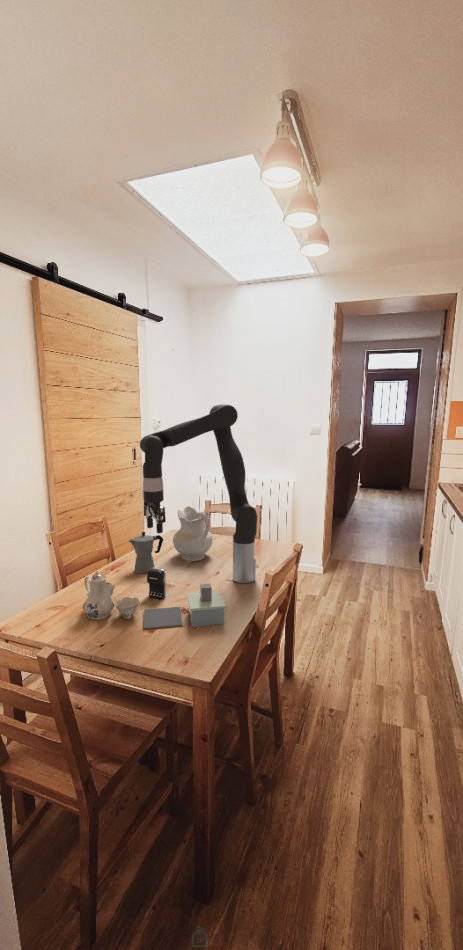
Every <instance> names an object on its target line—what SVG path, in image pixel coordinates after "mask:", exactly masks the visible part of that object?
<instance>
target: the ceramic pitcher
mask: <svg viewBox="0 0 463 950" xmlns="http://www.w3.org/2000/svg"><path fill="white" fill-rule="evenodd" d="M177 517H178V520H179V521H180V528H179V530H176V532H175V533H174V534H173V536H172V543H173V547H174V549H175V550H176V551H177V552H178V553H179V554H180V555H181V559H182V560H184V561H187V562H189V561H191V562H198V561H201V560H204V559H205V558H206V555H205V554H206V553H208V552H209V550H210V549H211V547H212V544H213V535H212V533H211V532H210V527H211V525H210V524H211V521H210V516H209V513H208V512H207V511H197V510H196V508H195V507H192V506H186V507H184V509H182V510H181V509H177Z"/></svg>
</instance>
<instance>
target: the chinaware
mask: <svg viewBox="0 0 463 950" xmlns="http://www.w3.org/2000/svg"><path fill="white" fill-rule="evenodd" d="M107 578H108V576H107V575H104V574H101V573H100V572H99V571H98V570H96V571H95V572H94V574H92V575H91V576H90V575H88V576H85V578H84V587H85V589H86V591H87V594H86V596H87V597H86V600H85V601H84V602H83V605H82V610H83V612H84V614H85V615H86V617H87V619H89V620H94V621H95V620H98V621H99V620H102V619H105V618H108V617H109V616H110V615H111V614H112V611H113V609H114V608H115V607H116V609H117V612H118V613H119V614H120V615H121V616H122V618H124V619H128V620H130V619H132V617H133V616H134V615H135V614H136V612H137V611H138V607H139V605H141V603H140V599H139V598H138V597H133V598H132V597H130V596H126V597H123V598H122V599H120V600H119V599H118V600H115V602H114V601H113V599H112V595H113V593H114V590H115V588H116V587H117V586H116V585H115V584H112V583H111V582H106V581H107ZM88 584H89V586H88Z"/></svg>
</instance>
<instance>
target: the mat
mask: <svg viewBox="0 0 463 950" xmlns="http://www.w3.org/2000/svg"><path fill="white" fill-rule="evenodd" d="M178 627H184V625H183V617H182V610H181V606H174V607H173V606H170V607H160V608H159V607H158V608H147V609H143V626H142V629H143V630H145V631H146V630H156V629H164V628H165V629H167V628H178Z"/></svg>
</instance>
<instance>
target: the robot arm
mask: <svg viewBox="0 0 463 950" xmlns="http://www.w3.org/2000/svg"><path fill="white" fill-rule="evenodd" d="M238 417H239V416H238V411H237V409H236V407H234V406H233V405H231V404H227V403H222V404H215V405H214V406H212V407H211V409H210V410H209V413H208V414H206V415H204V416H201V417H198V418H195V419H192V420H188V421H184V422H181V423H178V424H176V425H173V426H171V427H168V428H166V429H164V430H161V431H160V430H159V431H156V432H153V433H150V434H147V435H145V436H143V437H142V438H141V440H140V442H139V448H140V450H141V451H142V452H143V453H144V463H142V464H143V465H142V496H143V499H142V500H143V516H144V517H145V519H146V528H147V529H152V528H153V527H154V520H155V523H156V524H155V525H156V526H155V527H156V533H157V534H158V535H159V534H163V532H164V531H163V530H164V528H163V527H164V523H166V520H167V519H166V507H165V506H161V502H163V501H164V482H163V467H162V466H163V464H162V463H163V456H164V449H166V448H169V447H170V448H171V447H174V446H178V445H180V444H182V443H184V442H187V441H190V440H192V439H195V438H196V437H199V436H201V435H204V434H207V433H210V432H213V435H214V437H215V440H216V445H217V451H218V455H219V459H220V466H221V469H222V473H223V474H222V475H223V477H224V482H225V486H226V489H227V492H228V498H229V508H230V513H231V514H230V515H231V517H232V518H231V519H232V520H233V521H234V522H235V532H234V533H233V536H232V580H233V581H234V582H236V583H239V584H249V583H253V582H256V574H257V573H256V570H257V569H256V568H257V567H256V566H257V565H256V563H257V562H256V558H255V554H256V553H255V544H256V543H255V541H256V536H257V530H258V529H257V528H258V513H257V511H256V509H255V508H254V507H253V506H251V504H249V501H248V497H247V493H246V489H245V488H246V466H245V462H244V458H243V455H242V453H241V450H240V448H239V446H238V445H237V443H236V442H235V439H234V436H233V434H232V428H231V427H232V426H233V425H235V424H236V422H237V421H238Z"/></svg>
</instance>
